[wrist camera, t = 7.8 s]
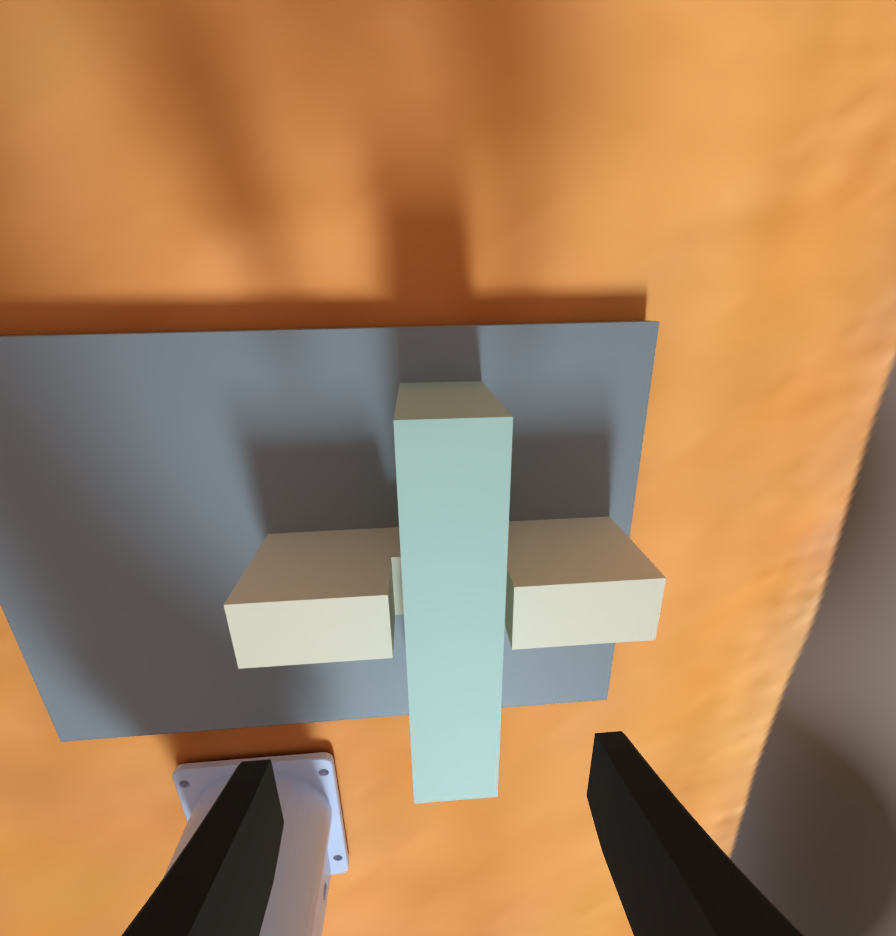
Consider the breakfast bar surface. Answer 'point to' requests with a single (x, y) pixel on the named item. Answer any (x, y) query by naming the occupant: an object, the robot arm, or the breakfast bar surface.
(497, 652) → the cross plate
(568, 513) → the slotted base
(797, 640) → the breakfast bar surface
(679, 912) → the robot arm
